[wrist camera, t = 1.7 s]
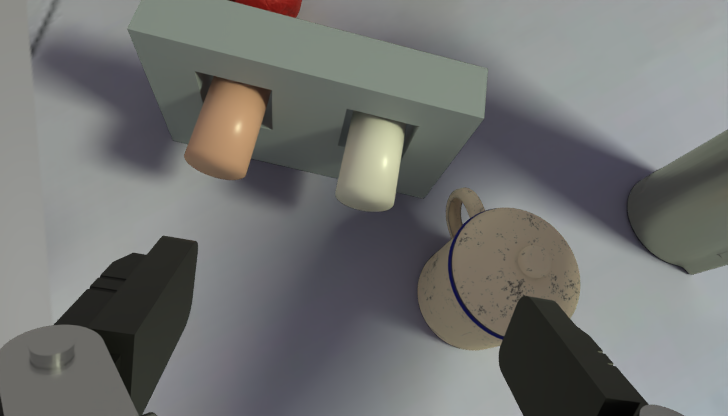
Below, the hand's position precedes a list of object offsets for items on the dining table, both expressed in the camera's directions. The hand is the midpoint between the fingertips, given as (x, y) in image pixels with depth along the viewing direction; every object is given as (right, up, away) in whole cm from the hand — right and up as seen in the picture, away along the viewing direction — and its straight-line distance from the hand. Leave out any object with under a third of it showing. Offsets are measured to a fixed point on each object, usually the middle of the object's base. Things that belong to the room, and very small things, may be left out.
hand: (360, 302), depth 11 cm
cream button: (0, +5, +23) cm, 24 cm away
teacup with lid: (+8, -4, +28) cm, 29 cm away
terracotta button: (-9, +7, +22) cm, 25 cm away
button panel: (-5, +7, +29) cm, 31 cm away
